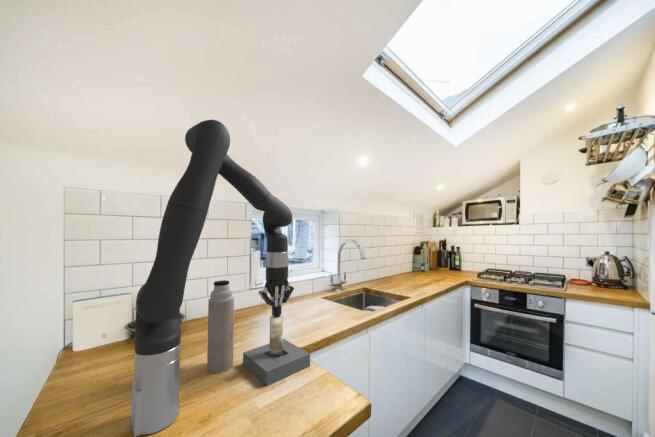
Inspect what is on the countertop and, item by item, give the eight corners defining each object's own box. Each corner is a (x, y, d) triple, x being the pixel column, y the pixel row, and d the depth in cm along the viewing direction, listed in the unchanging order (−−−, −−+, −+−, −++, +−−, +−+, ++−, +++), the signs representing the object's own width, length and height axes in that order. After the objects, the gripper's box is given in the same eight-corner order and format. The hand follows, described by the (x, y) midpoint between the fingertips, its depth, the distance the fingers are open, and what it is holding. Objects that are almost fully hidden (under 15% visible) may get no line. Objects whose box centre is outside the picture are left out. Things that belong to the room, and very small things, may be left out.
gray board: (266, 386, 74) (267, 372, 74) (242, 364, 86) (243, 352, 86) (310, 366, 85) (310, 353, 85) (283, 349, 97) (283, 338, 97)
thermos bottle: (235, 359, 89) (236, 278, 90) (230, 372, 81) (231, 283, 83) (211, 361, 88) (212, 279, 89) (203, 374, 80) (205, 284, 81)
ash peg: (273, 370, 82) (274, 320, 83) (266, 365, 85) (267, 316, 86) (285, 365, 85) (285, 316, 86) (278, 360, 88) (278, 313, 89)
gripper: (265, 268, 79) (264, 324, 79) (299, 264, 88) (299, 315, 88) (253, 265, 85) (253, 318, 84) (287, 262, 94) (287, 310, 93)
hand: (276, 316), depth 86 cm, fingers closed
